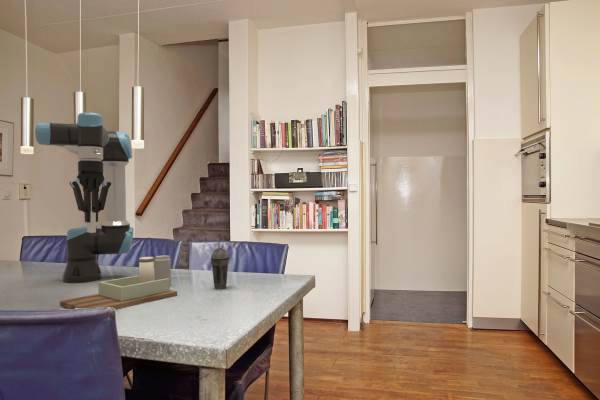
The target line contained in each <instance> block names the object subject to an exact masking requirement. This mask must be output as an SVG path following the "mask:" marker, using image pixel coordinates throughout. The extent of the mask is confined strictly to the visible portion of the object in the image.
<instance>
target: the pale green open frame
mask: <svg viewBox="0 0 600 400" xmlns="http://www.w3.org/2000/svg"><path fill="white" fill-rule="evenodd" d="M97 287H98V294H99V295H101V296H105V297H108V298H112V299H116V300H119V301H124V300H129V299H134V298H138V297H143V296H148V295H153V294H157V293H162V292H167V291H170V290H171V289H170V285H169V278H166V279H161V280H156V281H150V282H145V283H139V275H134V276H133V275H132V276H126V277H121V278H116V279H110V280H104V281H102V280H101V281H98V286H97Z"/></svg>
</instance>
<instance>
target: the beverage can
mask: <svg viewBox="0 0 600 400" xmlns="http://www.w3.org/2000/svg"><path fill="white" fill-rule="evenodd" d="M171 261H172V259H171V257H170V255H168V254H167V255H156V256H155V257H154V281H156V280H161V279H166V278H169V286H170V285H171V283H172V266H171V265H172V262H171Z"/></svg>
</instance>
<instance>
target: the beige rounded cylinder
mask: <svg viewBox="0 0 600 400" xmlns="http://www.w3.org/2000/svg"><path fill="white" fill-rule="evenodd" d="M154 259H155V257H154V256H143V257H142V256H141V257H139V258H138V263H139V264H138V267H139V269H138V274H139V283H145V282H150V281H154Z"/></svg>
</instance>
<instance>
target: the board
mask: <svg viewBox="0 0 600 400" xmlns="http://www.w3.org/2000/svg"><path fill="white" fill-rule="evenodd" d="M176 296H178V291H177V290H173V289H170V291H167V292H162V293H157V294H153V295H148V296H143V297H138V298H134V299H129V300H124V301H119V300H116V299H112V298H108V297H105V296H101V295H99V293H95V294H94V293H93V294H90V295H84V296H77V297H74V298H68V299H63V300H59V306H60V307H63V308H67V309H69V310H72V309H75V308H96V307H113V308H116V309H115V310H118V309H117V308H119V309H123V308H122V307H124V308H127V306H128V307H132V305H133V306H135V305H136V304H137V305H141V303H142V304H145V302H146V303H150V302H154V301H158V300H163V299H167V298H173V297H176ZM137 305H136V306H137Z"/></svg>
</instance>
